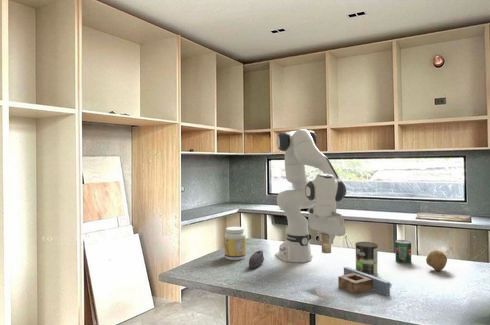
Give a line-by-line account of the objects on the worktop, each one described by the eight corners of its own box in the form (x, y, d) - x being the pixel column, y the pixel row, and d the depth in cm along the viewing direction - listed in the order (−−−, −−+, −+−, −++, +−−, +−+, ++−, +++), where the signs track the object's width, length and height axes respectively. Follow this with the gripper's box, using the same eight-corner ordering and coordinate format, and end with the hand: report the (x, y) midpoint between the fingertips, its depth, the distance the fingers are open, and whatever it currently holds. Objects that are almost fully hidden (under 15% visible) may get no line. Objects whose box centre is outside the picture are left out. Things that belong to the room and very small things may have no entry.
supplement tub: (221, 256, 204) (221, 227, 204) (240, 253, 209) (240, 225, 209) (229, 261, 193) (229, 231, 193) (249, 259, 198) (249, 229, 198)
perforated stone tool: (254, 271, 176) (254, 257, 176) (244, 269, 179) (244, 256, 179) (266, 263, 190) (266, 250, 190) (257, 262, 192) (257, 249, 192)
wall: (343, 278, 164) (343, 267, 164) (347, 277, 165) (346, 266, 165) (386, 295, 143) (386, 282, 143) (389, 294, 144) (389, 282, 144)
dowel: (319, 251, 154) (319, 233, 154) (326, 250, 155) (326, 232, 155) (325, 253, 150) (325, 235, 150) (333, 252, 152) (332, 234, 152)
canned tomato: (414, 264, 185) (414, 243, 185) (399, 264, 185) (398, 243, 185) (407, 259, 193) (407, 239, 193) (393, 259, 193) (392, 239, 193)
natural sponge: (426, 272, 172) (426, 251, 172) (426, 267, 179) (426, 247, 179) (447, 274, 167) (447, 253, 167) (446, 269, 175) (446, 249, 175)
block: (338, 286, 153) (338, 276, 153) (355, 282, 158) (355, 272, 158) (355, 294, 144) (355, 283, 144) (372, 289, 149) (372, 279, 149)
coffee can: (365, 277, 165) (364, 247, 165) (351, 271, 174) (350, 242, 174) (382, 274, 168) (382, 245, 168) (368, 268, 178) (367, 240, 178)
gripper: (348, 213, 145) (349, 246, 145) (316, 207, 163) (317, 237, 163) (337, 214, 142) (337, 248, 142) (305, 208, 160) (306, 239, 160)
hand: (326, 242), depth 153 cm, fingers closed on dowel, 4 cm apart
